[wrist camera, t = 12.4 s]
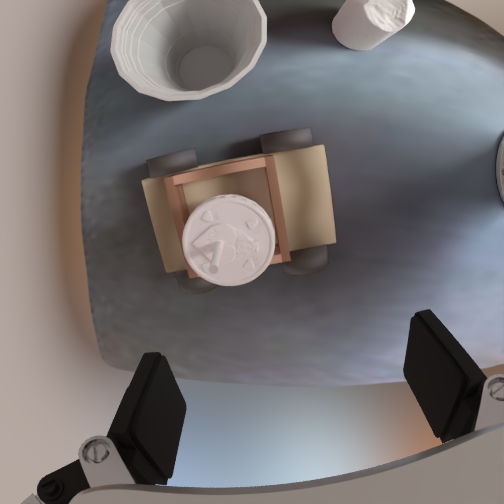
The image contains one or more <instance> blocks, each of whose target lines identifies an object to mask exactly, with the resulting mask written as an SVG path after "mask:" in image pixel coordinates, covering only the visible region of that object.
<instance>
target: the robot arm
mask: <svg viewBox="0 0 504 504" xmlns="http://www.w3.org/2000/svg"><path fill="white" fill-rule="evenodd" d="M496 177H497V184H498V189H499V192H500V195H501V198H502V200H503V202H504V137H503V139H502V141H501V143H500V146H499V149H498V154H497V161H496ZM403 372H404V376H405V378H406V380H407V382H408V384H409V386H410V388H411V390H412V391H413V393H414V395H415V397H416V399H417V401H418V403H419V405H420V407H421V409H422V411H423V413H424V415H425V417H426V419H427V421H428V423H429V425H430V427H431V428H432V431H433V433H434V435H435V436H436V437H437V438H439V437H440V439H441V441H442V443H444V444H442V445H440V446H437V447H434V448H431V449H429V450H426V451H423V452H420V453H418V454H415V455H412V456H409V457H406V458H403V459H400V460H396V461H393V462H390V463H386V464H383V465H379V466H376V467H372V468H368V469H364V470H360V471H356V472H352V473H347V474H343V475H338V476H333V477H328V478H322V479H317V480H310V481H303V482H296V483H288V484H279V485H269V486H257V487H256V486H255V487H235V488H198V487H197V488H196V487H172V486H159V485H167V480H168V478H171V477H172V475H173V470H174V465H175V461H176V456H177V451H178V446H179V441H180V437H181V432H182V427H183V423H184V418H185V414H186V402H185V400H184V398H183V396H182V394H181V392H180V389H179V387H178V385H177V383H176V380H175V378H174V376H173V373H172V371H171V369H170V366H169V364H168V361H167V359H166V357H165V356H162V355H161V354H160V353H159V352H150V353H144V355H143V356H142V359H141V361H140V363H139V365H138V367H137V370H136V372H135V374H134V376H133V379H132V381H131V383H130V385H129V387H128V388H127V390H126V392H125V394H124V396H123V399H122V401H121V403H120V405H119V408H118V410H117V413H116V415H115V417H114V419H113V422H112V424H111V427H110V429H109V431H108V434H107V436H106V437H105V436H94V437H91V438H89V439H87V440H86V441H85V442H84V443H83V444H82V445H81V447H80V449H79V453H78V454H79V459H78V460H76V461H74V462H72V463H70V464H68V465H67V466H65V467H62V468H61V469H58V470H56V471H55V472H52V473H50V474H48V475H46V476H45V477H44V478H42V479H41V480H40V482H39V484H38V486H37V495H36V496H35V495H34V494H31V495H30V496H29V497H28V498H27V499H26V500H24V501H23V502H22V503H21V504H504V375H503V374H496V375H492V376H491V377H489V378H487V377H486V376H485V375H484V373H483V372H482V371H481V369H480V368H479V367H478V366H477V364H476V363H475V362H474V361H473V359H472V358H471V357H470V356H469V354H468V353H467V352H466V351H465V349H464V348H463V347H462V346H461V345H460V343H459V342H458V341H457V340H456V339H455V337H454V336H453V335H452V334H451V333H450V332H449V330H448V329H447V328H446V327H445V326H444V325H443V323H442V322H441V321H440V320H439V319H438V318H437V317H436V316H435V314H434V313H433V312H432V311H431V310H430V309H427V310H423V311H419V312H416V313H415V315H414V317H412V318H411V321H410V329H409V337H408V344H407V350H406V356H405V362H404V368H403ZM452 439H454V440H452ZM449 440H452V441H449ZM447 441H449V442H447ZM445 442H447V443H445ZM155 484H159V485H155Z"/></svg>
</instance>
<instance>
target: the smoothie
mask: <svg viewBox="0 0 504 504" xmlns="http://www.w3.org/2000/svg"><path fill="white" fill-rule="evenodd" d="M182 246H183V251H184V255H185V257H186V260H187V262H188V263H189V265H190V266H191V268H192V269H193V270H194V271H195V272H196V273H197V274H198V275H199V276H201V277H202V278H203V279H205V280H207V281H209V282H211V283H214V284H217V285H222V286H237V285H241V284H245V283H248V282H250V281H252V280H254V279H255V278H257V277H258V276H259V275H261V274H262V273H263V272H264V271H265V269H266V268H267V267H268V265H269V264H270V262H271V260H272V257H273V254H274V250H275V230H274V227H273V225H272V222H271V219H270V218H269V216H268V215H267V213H266V212H265V210H264V209H263V208H261V207H260V206H259V205H258V204H257V203H256V202H254V201H252V200H250V199H248V198H246V197H244V196H242V195H239V194H228V195H218V196H215V197H213V198H210V199H207V200H206V201H204V202H203V203H201V204H200V205H199V206H197V207H196V208H195V210H194V211H193V212H192V213H191V215H190V216H189V218H188V220H187V223H186V225H185V227H184V231H183V236H182Z"/></svg>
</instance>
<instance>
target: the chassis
mask: <svg viewBox="0 0 504 504" xmlns="http://www.w3.org/2000/svg"><path fill="white" fill-rule="evenodd" d="M260 140H261V145H262V150H263V153H260V154H255V155H249V156H244V157H238V158H233V159H228V160H223V161H218V162H214V163H209V164H204V165H200V166H199V165H198V161H197V156H196V151H195V148H194V149H189V150H184V151H179V152H175V153H171V154H167V155H163V156H159V157H156V158H152V159H149V160H146V161H147V165H148V170H149V174H150V178H147V179H144V180H142V185H143V189H144V193H145V197H146V201H147V205H148V209H149V213H150V217H151V221H152V224H153V228H154V232H155V236H156V239H157V243H158V246H159V250H160V253H161V257H162V260H163V263H164V267H165V270H166V273H170V272H175V271H176V277H177V280H178V284H179V287H180V290H181V291H182V292H183V293H186V294H199V293H204V292H207V291H210V290H212V289H214V288H216V287H218V286H219V285H217V284H214V283H211V282H209V281H207V280H205V279H203V278H202V277H201V276H199V275H198V274H197V273H196V272H195V271H194V270H193V269H192V268H191V266H190V265H189V263H188V262H187V260H186V257H185V255H184V251H183V246H182V236H183V231H184V227H185V225H186V223H187V220H188V218H189V216H190V215H191V213H192V212H193V211H194V210H195V208H196V207H197V206H199V205H200V204H201V203H203V202H204V201H206V200H207V199H210V198H213V197H215V196H218V195H228V194H239V195H242V196H244V197H246V198H248V199H250V200H252V201H254V202H256V203H257V204H258V205H259V206H260V207H261V208H263V209H264V210H265V212H266V213H267V215H268V216H269V218H270V219H271V222H272V225H273V227H274V230H275V250H274V254H273V257H272V260H271V262H270V264H275V263H281V262H282V267H283V270H284V271H285V272H286V273H288V274H292V275H308V274H313V273H317V272H319V271H321V270H323V269H325V268H326V267H327V266H328V253H327V245H326V244H332V243H336V234H335V224H334V215H333V206H332V198H331V190H330V183H329V175H328V168H327V161H326V155H325V148H324V145H313V141H312V135H311V129H310V128H301V129H293V130H286V131H280V132H274V133H268V134H263V135H260ZM270 264H269V265H270Z"/></svg>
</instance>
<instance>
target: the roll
mask: <svg viewBox="0 0 504 504" xmlns="http://www.w3.org/2000/svg"><path fill="white" fill-rule="evenodd" d="M414 12H415V8H414V5H413V3H412V0H346V1H345V3H344V4H343V6H342V7H341V9H340V10H339V12H338V13H337V15H336V16H335V17H334V19H333V21H332V32H333V34H334V36H335V37H336V39H337V40H338V41H339V42H340V43H341V44H342V45H344V46H346V47H348V48H350V49H353V50H360V51H364V50H370V49H372V48H374V47H375V46H377V45H378V44H380V43H381V42H382V41H384V40H385V39H387V38H388V37H390V36H391V35H393V34H394V33H396V32H397V31H399V30H400V29H402V28H403V27H404V26H405V25H407V24H408V23H409V21H410V20H411V18H412V16H413V14H414Z"/></svg>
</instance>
